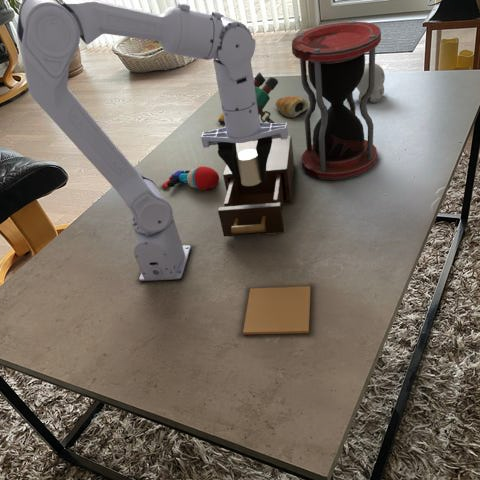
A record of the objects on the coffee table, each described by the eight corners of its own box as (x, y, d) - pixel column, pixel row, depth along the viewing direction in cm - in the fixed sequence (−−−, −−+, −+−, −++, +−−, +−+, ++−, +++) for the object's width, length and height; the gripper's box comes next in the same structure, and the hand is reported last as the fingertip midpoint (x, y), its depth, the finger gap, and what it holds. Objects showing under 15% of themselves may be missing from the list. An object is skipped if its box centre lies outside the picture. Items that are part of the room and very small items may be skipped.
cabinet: (290, 203, 98) (286, 169, 93) (230, 208, 101) (222, 174, 95) (294, 166, 108) (291, 134, 103) (239, 172, 111) (233, 140, 105)
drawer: (282, 245, 87) (278, 218, 83) (220, 249, 90) (214, 223, 85) (288, 193, 99) (285, 167, 95) (233, 197, 101) (228, 172, 97)
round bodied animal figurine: (343, 92, 132) (342, 58, 126) (387, 93, 126) (389, 58, 120) (334, 103, 128) (332, 69, 122) (379, 105, 122) (380, 69, 116)
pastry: (269, 110, 131) (268, 96, 129) (289, 102, 133) (288, 87, 131) (291, 119, 125) (289, 104, 123) (311, 110, 127) (310, 95, 125)
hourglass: (322, 139, 115) (316, 20, 97) (388, 148, 107) (395, 20, 89) (288, 174, 106) (275, 50, 89) (357, 186, 98) (357, 52, 81)
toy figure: (162, 195, 112) (211, 196, 103) (154, 175, 109) (204, 174, 100) (182, 181, 116) (231, 180, 107) (175, 161, 114) (225, 159, 105)
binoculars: (243, 147, 126) (207, 108, 115) (278, 103, 124) (244, 59, 113) (273, 166, 116) (236, 125, 106) (311, 118, 114) (278, 72, 104)
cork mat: (308, 333, 73) (308, 331, 72) (243, 334, 75) (242, 332, 74) (310, 288, 79) (310, 285, 79) (250, 290, 82) (250, 288, 81)
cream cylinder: (261, 185, 86) (257, 159, 83) (239, 187, 87) (234, 161, 84) (263, 173, 89) (259, 148, 85) (242, 175, 90) (237, 150, 86)
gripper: (285, 88, 80) (292, 164, 89) (200, 99, 83) (216, 171, 92) (282, 106, 75) (290, 184, 84) (192, 116, 78) (210, 191, 87)
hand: (251, 179), depth 88 cm, fingers closed on cream cylinder, 4 cm apart
